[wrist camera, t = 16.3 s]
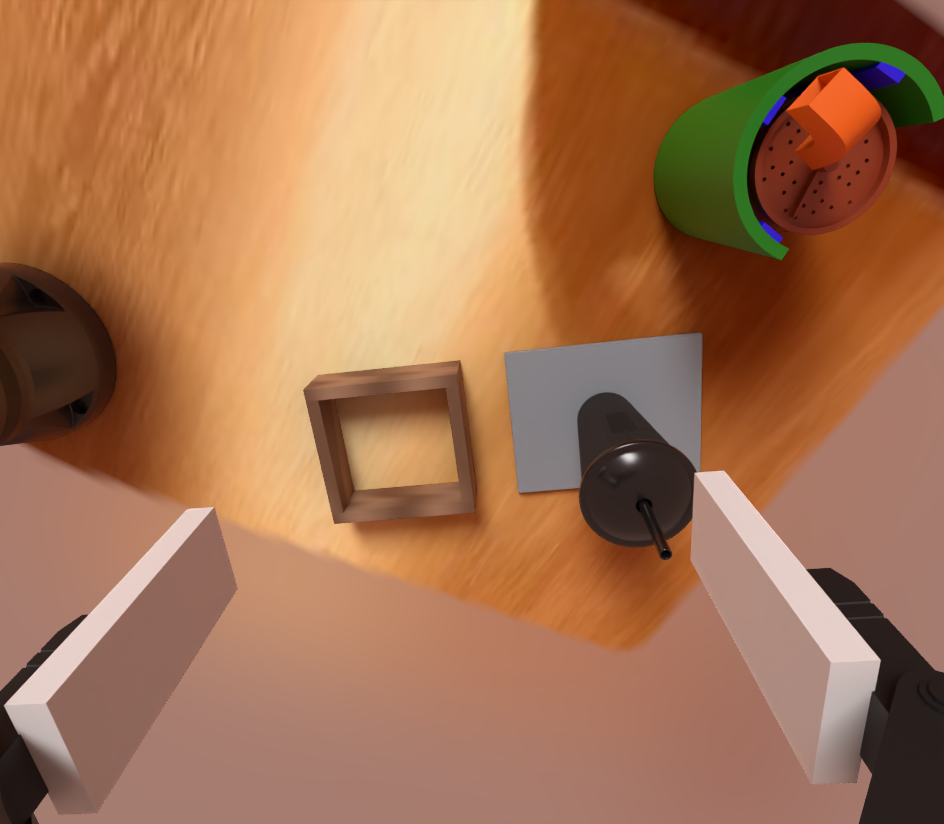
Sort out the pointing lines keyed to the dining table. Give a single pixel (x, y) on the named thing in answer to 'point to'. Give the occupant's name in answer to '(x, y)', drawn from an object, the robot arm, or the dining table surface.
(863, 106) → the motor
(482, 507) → the dining table surface
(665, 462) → the drinking cup
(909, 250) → the dining table surface
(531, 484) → the slate mat
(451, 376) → the walnut collar
